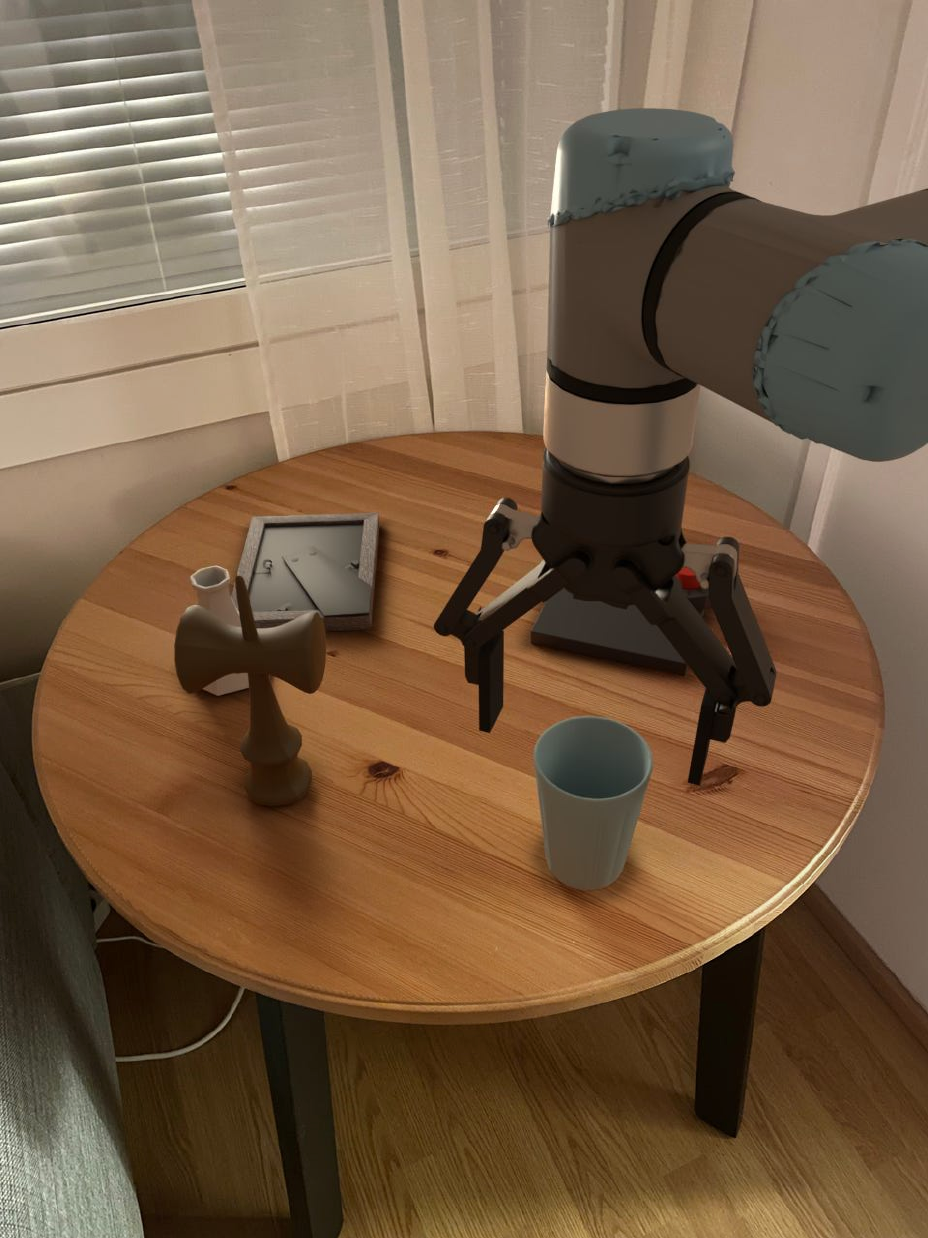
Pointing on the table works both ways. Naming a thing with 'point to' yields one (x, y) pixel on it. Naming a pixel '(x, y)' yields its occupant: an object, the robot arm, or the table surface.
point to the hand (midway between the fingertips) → (591, 743)
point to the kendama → (257, 686)
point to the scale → (610, 631)
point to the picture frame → (311, 569)
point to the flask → (219, 602)
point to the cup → (590, 797)
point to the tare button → (688, 579)
